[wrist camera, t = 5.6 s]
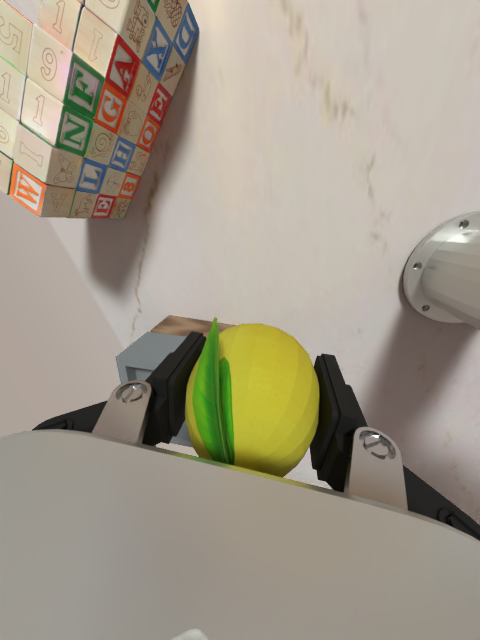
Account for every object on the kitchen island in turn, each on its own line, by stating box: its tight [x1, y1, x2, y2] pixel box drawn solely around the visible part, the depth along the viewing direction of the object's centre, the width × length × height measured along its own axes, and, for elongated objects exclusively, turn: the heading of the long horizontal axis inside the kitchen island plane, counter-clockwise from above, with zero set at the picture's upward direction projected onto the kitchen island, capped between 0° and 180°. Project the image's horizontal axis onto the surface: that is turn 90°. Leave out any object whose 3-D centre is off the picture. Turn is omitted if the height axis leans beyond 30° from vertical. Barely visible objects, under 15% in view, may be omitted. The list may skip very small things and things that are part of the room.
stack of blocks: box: [0, 0, 199, 219], centre depth 21 cm, size 21×6×12 cm, turn 145°
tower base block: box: [151, 315, 236, 339], centre depth 35 cm, size 12×12×6 cm
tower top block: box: [116, 332, 193, 447], centre depth 29 cm, size 12×12×6 cm
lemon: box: [185, 318, 319, 478], centre depth 9 cm, size 7×6×10 cm
